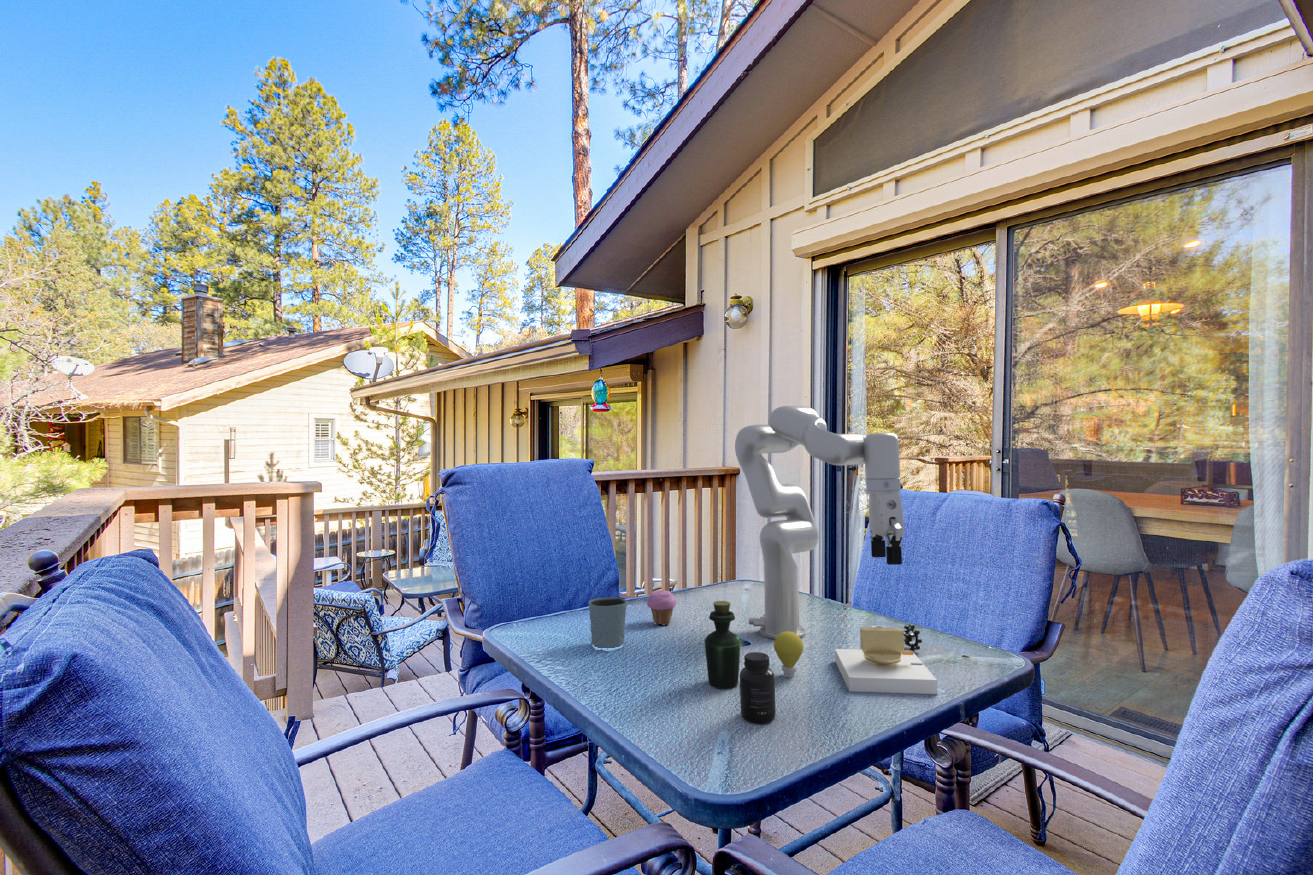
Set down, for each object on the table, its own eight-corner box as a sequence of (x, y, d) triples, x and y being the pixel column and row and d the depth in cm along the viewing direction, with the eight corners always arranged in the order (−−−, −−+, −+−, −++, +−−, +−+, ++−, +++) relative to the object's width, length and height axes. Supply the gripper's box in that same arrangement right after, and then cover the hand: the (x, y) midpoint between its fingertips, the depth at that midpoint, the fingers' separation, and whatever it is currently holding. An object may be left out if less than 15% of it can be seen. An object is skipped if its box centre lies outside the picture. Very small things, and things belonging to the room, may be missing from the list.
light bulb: (787, 683, 134) (786, 638, 134) (768, 673, 140) (767, 630, 140) (810, 677, 137) (809, 633, 138) (790, 667, 143) (790, 625, 143)
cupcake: (676, 627, 176) (676, 593, 176) (647, 628, 176) (646, 594, 177) (676, 619, 185) (675, 586, 185) (647, 619, 185) (647, 586, 185)
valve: (879, 659, 149) (922, 654, 151) (879, 632, 149) (921, 628, 151) (864, 650, 155) (906, 645, 158) (864, 624, 155) (905, 620, 158)
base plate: (849, 691, 129) (849, 676, 129) (835, 661, 147) (835, 648, 147) (937, 694, 127) (937, 678, 127) (912, 663, 145) (911, 649, 145)
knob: (865, 667, 134) (865, 633, 134) (858, 655, 142) (857, 623, 142) (918, 669, 132) (917, 635, 133) (907, 656, 140) (907, 624, 140)
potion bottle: (697, 682, 136) (696, 602, 136) (723, 673, 140) (722, 596, 141) (722, 694, 129) (721, 610, 129) (749, 684, 134) (747, 603, 134)
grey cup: (582, 649, 159) (581, 604, 159) (600, 638, 168) (599, 595, 168) (617, 654, 155) (616, 607, 155) (633, 642, 164) (632, 598, 164)
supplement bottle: (737, 710, 121) (735, 650, 121) (770, 708, 122) (769, 648, 122) (744, 726, 114) (743, 662, 114) (780, 724, 115) (778, 661, 115)
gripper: (914, 487, 131) (918, 566, 130) (885, 484, 148) (888, 554, 148) (880, 488, 131) (883, 567, 130) (855, 485, 148) (857, 555, 148)
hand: (886, 560), depth 139 cm, fingers open, 9 cm apart
